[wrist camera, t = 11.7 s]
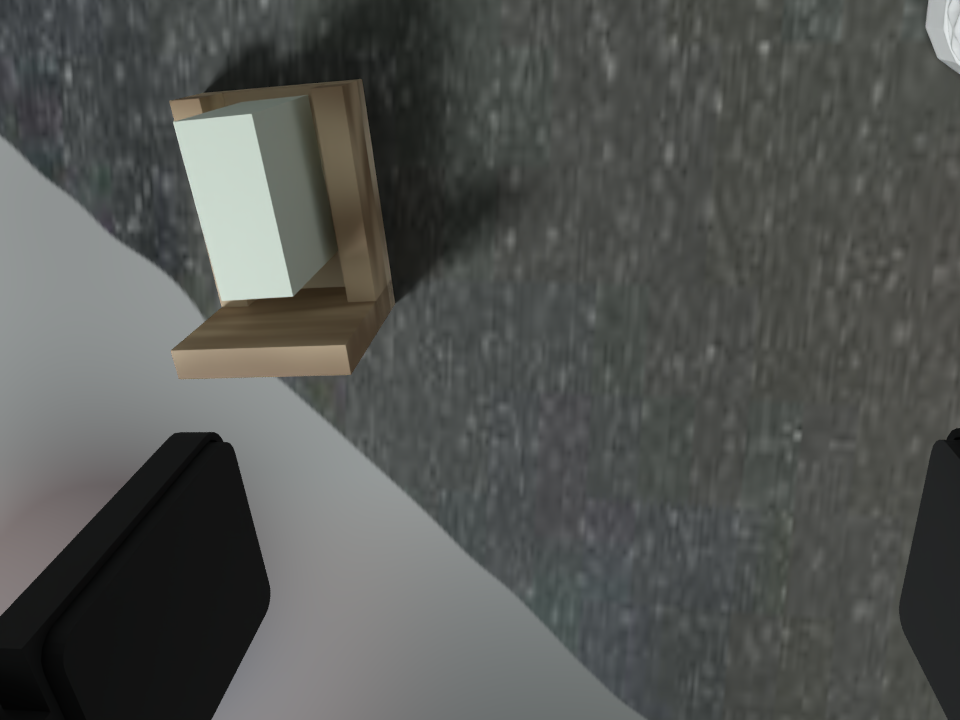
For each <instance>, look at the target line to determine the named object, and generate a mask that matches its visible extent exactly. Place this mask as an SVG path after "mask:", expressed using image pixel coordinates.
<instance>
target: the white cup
mask: <svg viewBox="0 0 960 720" xmlns="http://www.w3.org/2000/svg"><path fill="white" fill-rule="evenodd" d="M926 30H927V32H928V35H929V38H930V40H931V43H932V45H933V48H934V50H935V53H936V55H937V58H938V59H940V60H941V61H942V62H944V63H945V64H946V65H948V66H949V67H950V68H952V69H953V70H954V71H956V72H957V73H959V74H960V0H928V9H927V18H926Z"/></svg>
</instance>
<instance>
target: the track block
mask: <svg viewBox="0 0 960 720" xmlns="http://www.w3.org/2000/svg"><path fill="white" fill-rule="evenodd" d="M302 95H308V98H309V103H310V108H311V113H312V118H313V123H314V129H315V134H316V139H317V144H318V149H319V154H320V159H321V164H322V170H323V175H324V180H325V185H326V190H327V195H328V200H329V206H330V211H331V216H332V221H333V226H334V231H335V236H336V241H337V247H338V251H337V253H336V254H335V255H334V256H333V257H332V258H331V259H330V260H329V261H328V262H327V263H326V264H325V265H324V266H323V267H322V268H321V269H320V270H319V271H318V272H317V273H316V274H315V275H314V276H313V277H312V278H311V279H310V280H309V281H308V282H307V283H306V284H305V285H304V286H303V287H302V288H301V289H300V290H299V291H298V292H297V293H296V294H295V295H294V296H293V297H278V298H262V299H245V300H229V301H221V297H220V293H219V290H218V286H217V282H216V279H215V275H214V271H213V268H212V271H213V275H214V279H215V283H216V287H217V290H218V294H219V298H220V302H221V306H222V308H221V309H219V310H218V311H217V312H216V313H215V314H214V315H212V316H211V317H210V318H209V319H208V320H206V321H205V322H204V323H203V324H202V325H201V326H199V327H198V328H197V329H196V330H195V331H193V332H192V333H191V334H190V335H189V336H187V338H185V339H184V340H183V341H182V342H180V343H179V344H178V345H177V346H176V347H174V348H173V349H172V350H171V353H172V357H173V360H174V363H175V367H176V370H177V374H178V377H179V379H208V378H242V377H244V378H246V377H284V376H322V375H351V374H352V372H353V371H354V369H355V367H356V366H357V364H358V363H359V361H360V359H361V358H362V356H363V355H364V353H365V351H366V350H367V348H368V347H369V345H370V343H371V342H372V340H373V339H374V337H375V335H376V334H377V332H378V330H379V329H380V327H381V326H382V324H383V322H384V321H385V319H386V318H387V316H388V314H389V313H390V311H391V310H392V308H393V306H394V305H395V299H394V292H393V285H392V279H391V272H390V265H389V258H388V252H387V245H386V238H385V231H384V224H383V218H382V211H381V204H380V197H379V191H378V184H377V177H376V170H375V164H374V157H373V150H372V143H371V136H370V130H369V123H368V116H367V109H366V103H365V96H364V89H363V82H362V79H356V80H345V81H333V82H322V83H311V84H299V85H288V86H277V87H265V88H254V89H243V90H231V91H220V92H208V93H201V94H197V95H193V96H188V97H184V98H180V99H176V100H172V101H170V105H171V109H172V113H173V117H174V121H178V120H181V119H185V118H188V117H192V116H195V115H199V114H202V113H205V112H209V111H212V110H216V109H219V108H223V107H226V106H229V105H233V104H236V103H240V102H246V101H255V100H265V99H274V98H283V97H293V96H302ZM203 235H204V234H203ZM204 239H205V238H204ZM205 243H206V242H205ZM206 247H207V245H206ZM207 251H208V249H207ZM208 255H209V253H208ZM209 259H210V256H209ZM210 263H211V260H210ZM211 267H212V264H211Z"/></svg>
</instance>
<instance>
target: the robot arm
mask: <svg viewBox="0 0 960 720" xmlns="http://www.w3.org/2000/svg"><path fill="white" fill-rule="evenodd" d="M269 602H270V585H269V581H268V577H267V573H266V569H265V565H264V562H263V558H262V554H261V550H260V547H259V542H258V539H257V535H256V531H255V527H254V523H253V520H252V516H251V512H250V508H249V504H248V501H247V496H246V493H245V489H244V485H243V481H242V477H241V474H240V470H239V466H238V462H237V458H236V455H235V451H234V449H233V447H232V445H231V444H230V443H228V442H223V440H222V438H221V437H220V436H219V435H218V434H217V433H215V432H180V433H174V434H173V435H172V436H171V437H169V438H168V439H167V440H166V441H165V442H164V444H163V445H162V446H161V447H160V448H159V449H158V450H157V451H156V452H155V453H154V454H153V455H152V456H151V457H150V458H149V459H148V460H147V462H146V463H145V464H144V465H143V466H142V467H141V468H140V469H139V470H138V471H137V472H136V473H135V474H134V475H133V476H132V477H131V479H130V480H129V481H128V482H127V483H126V484H125V485H124V486H123V487H122V488H121V489H120V490H119V491H118V492H117V493H116V494H115V495H114V497H113V498H112V499H111V500H110V501H109V502H108V503H107V504H106V505H105V506H104V507H103V508H102V509H101V510H100V511H99V512H98V513H97V515H96V516H95V517H94V518H93V519H92V520H91V521H90V522H89V523H88V524H87V525H86V526H85V527H84V528H83V530H81V531H80V533H79V534H78V535H77V536H76V537H75V538H74V539H73V540H72V541H71V542H70V543H69V544H68V545H67V546H66V547H65V549H63V551H62V552H61V553H60V554H59V555H58V556H57V557H56V558H55V559H54V560H53V561H52V562H51V563H50V564H49V565H48V566H47V568H46V569H45V570H44V571H43V572H42V573H41V574H40V575H39V576H38V577H37V578H36V579H35V580H34V581H33V582H32V583H31V584H30V586H29V587H28V588H27V589H26V590H25V591H24V592H23V593H22V594H21V595H20V596H19V597H18V598H17V599H16V600H15V601H14V603H13V604H12V605H11V606H10V607H9V608H8V609H7V610H6V611H5V612H4V613H3V614H2V615H1V616H0V720H211V719H212V717H213V715H214V713H215V712H216V710H217V708H218V706H219V704H220V702H221V700H222V698H223V696H224V694H225V692H226V690H227V688H228V686H229V684H230V682H231V681H232V679H233V677H234V675H235V673H236V671H237V669H238V667H239V665H240V663H241V661H242V659H243V657H244V655H245V653H246V651H247V650H248V647H249V646H250V644H251V642H252V640H253V638H254V636H255V634H256V632H257V630H258V628H259V626H260V624H261V622H262V620H263V618H264V617H265V615H266V612H267V610H268V607H269ZM899 614H900V621H901V625H902V629H903V631H904V634H905V636H906V638H907V640H908V642H909V644H910V646H911V648H912V650H913V652H914V654H915V656H916V657H917V659H918V661H919V663H920V665H921V667H922V669H923V671H924V673H925V675H926V677H927V679H928V681H929V683H930V685H931V687H932V689H933V691H934V693H935V695H936V697H937V699H938V701H939V703H940V705H941V707H942V709H943V711H944V713H945V715H946V717H947V719H948V720H960V428H956V429H954V430H952V431H951V433H950V434H949V436H948V437H947V440H938V441H936V443H935V444H934V445H933V448H932V451H931V456H930V461H929V465H928V470H927V475H926V480H925V484H924V489H923V494H922V499H921V503H920V508H919V513H918V518H917V522H916V527H915V532H914V537H913V541H912V546H911V551H910V556H909V560H908V565H907V570H906V575H905V579H904V584H903V589H902V594H901V598H900V605H899Z"/></svg>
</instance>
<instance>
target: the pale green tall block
mask: <svg viewBox="0 0 960 720" xmlns="http://www.w3.org/2000/svg"><path fill="white" fill-rule="evenodd" d="M173 124H174V127H175V131H176V135H177V139H178V142H179V146H180V150H181V153H182V157H183V161H184V164H185V168H186V172H187V175H188V179H189V183H190V186H191V190H192V194H193V198H194V201H195V205H196V209H197V212H198V216H199V220H200V223H201V227H202V231H203V234H204V238H205V242H206V245H207V249H208V253H209V256H210V260H211V264H212V268H213V271H214V275H215V279H216V282H217V286H218V290H219V293H220V297H221V301H229V300H245V299H262V298H278V297H293V296H294V295H295V294H296V293H297V292H298V291H299V290H300V289H301V288H302V287H303V286H304V285H305V284H306V283H307V282H308V281H309V280H310V279H311V278H312V277H313V276H314V275H315V274H316V273H317V272H318V271H319V270H320V269H321V268H322V267H323V266H324V265H325V264H326V263H327V262H328V261H329V260H330V259H331V258H332V257H333V256H334V255H335V254H336V253H337V251H338V247H337V241H336V236H335V231H334V226H333V221H332V216H331V211H330V206H329V200H328V195H327V190H326V185H325V180H324V175H323V170H322V164H321V159H320V154H319V149H318V144H317V139H316V134H315V129H314V123H313V118H312V113H311V108H310V103H309V98H308V95H302V96H293V97H283V98H274V99H265V100H255V101H246V102H240V103H236V104H233V105H229V106H226V107H223V108H219V109H216V110H212V111H209V112H205V113H202V114H199V115H195V116H192V117H188V118H185V119H181V120H178V121H175V122H173Z"/></svg>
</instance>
